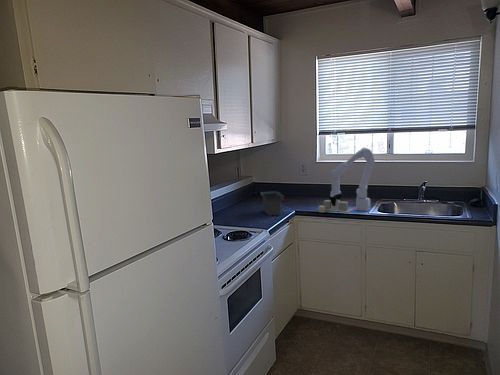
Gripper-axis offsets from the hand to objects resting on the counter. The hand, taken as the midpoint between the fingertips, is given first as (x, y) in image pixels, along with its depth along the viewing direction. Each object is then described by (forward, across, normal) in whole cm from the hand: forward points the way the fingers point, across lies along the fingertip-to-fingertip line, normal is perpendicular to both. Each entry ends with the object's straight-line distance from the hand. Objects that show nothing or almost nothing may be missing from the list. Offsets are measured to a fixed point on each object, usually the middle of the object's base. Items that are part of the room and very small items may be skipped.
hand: (335, 204), depth 272 cm
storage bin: (+4, +26, -37) cm, 46 cm away
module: (+3, 0, 0) cm, 3 cm away
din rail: (+4, 0, 0) cm, 4 cm away
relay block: (+4, +8, -7) cm, 12 cm away
